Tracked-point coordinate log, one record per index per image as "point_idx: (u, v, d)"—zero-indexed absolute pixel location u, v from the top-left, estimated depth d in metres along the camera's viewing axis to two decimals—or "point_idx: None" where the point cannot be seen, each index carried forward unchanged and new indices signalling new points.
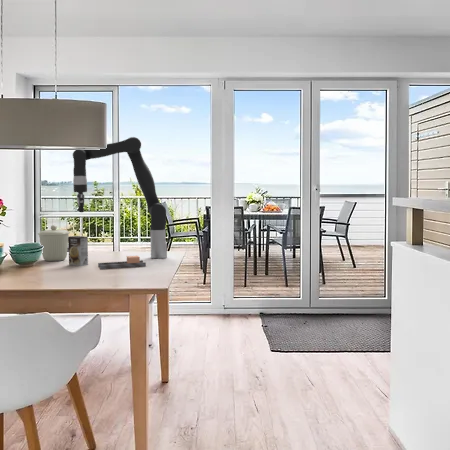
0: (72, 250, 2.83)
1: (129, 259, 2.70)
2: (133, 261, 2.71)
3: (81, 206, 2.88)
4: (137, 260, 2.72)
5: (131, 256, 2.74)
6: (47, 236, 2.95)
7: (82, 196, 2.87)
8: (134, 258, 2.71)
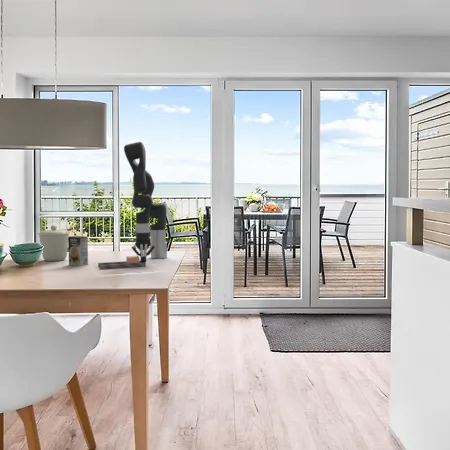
0: (72, 250, 2.83)
1: (129, 259, 2.70)
2: (133, 261, 2.71)
3: None
4: (137, 260, 2.72)
5: (131, 256, 2.74)
6: (47, 236, 2.95)
7: None
8: (134, 258, 2.71)
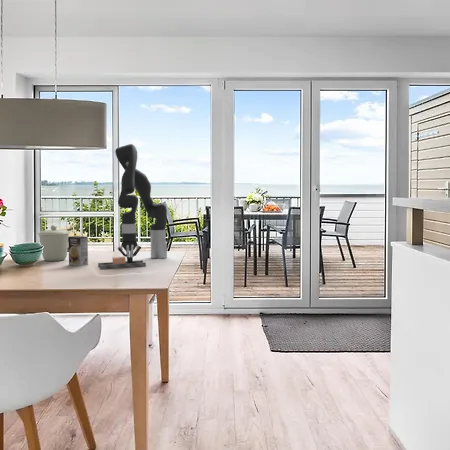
0: (72, 250, 2.83)
1: (115, 260, 2.68)
2: (119, 262, 2.68)
3: None
4: (123, 261, 2.69)
5: (117, 257, 2.72)
6: (47, 236, 2.95)
7: None
8: (120, 259, 2.68)
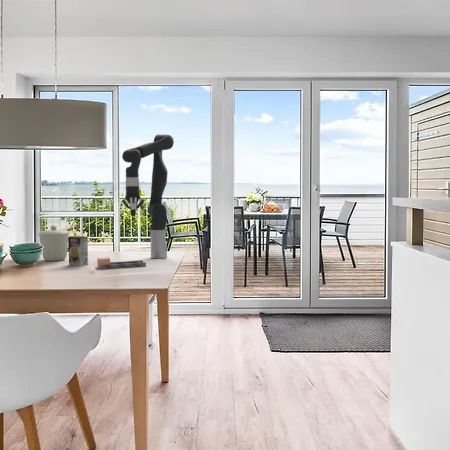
0: (72, 250, 2.83)
1: (99, 261, 2.65)
2: (103, 263, 2.66)
3: None
4: (107, 262, 2.66)
5: (102, 258, 2.69)
6: (47, 236, 2.95)
7: None
8: (104, 260, 2.66)
